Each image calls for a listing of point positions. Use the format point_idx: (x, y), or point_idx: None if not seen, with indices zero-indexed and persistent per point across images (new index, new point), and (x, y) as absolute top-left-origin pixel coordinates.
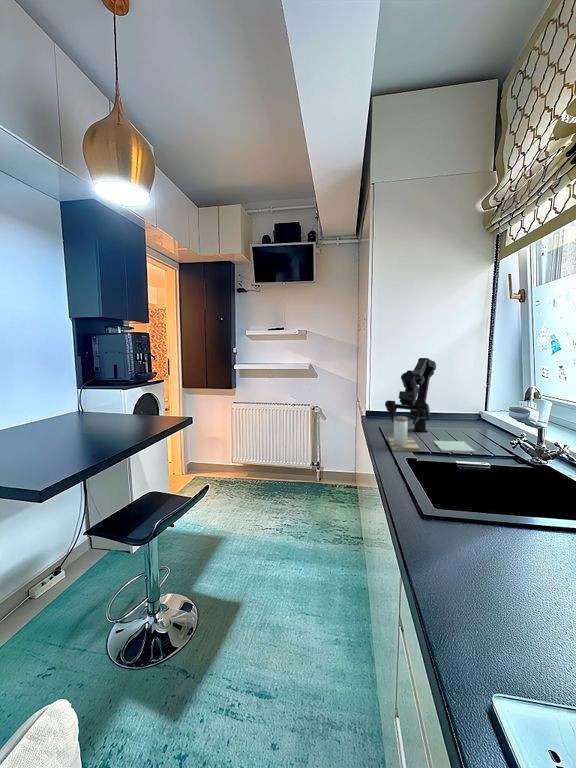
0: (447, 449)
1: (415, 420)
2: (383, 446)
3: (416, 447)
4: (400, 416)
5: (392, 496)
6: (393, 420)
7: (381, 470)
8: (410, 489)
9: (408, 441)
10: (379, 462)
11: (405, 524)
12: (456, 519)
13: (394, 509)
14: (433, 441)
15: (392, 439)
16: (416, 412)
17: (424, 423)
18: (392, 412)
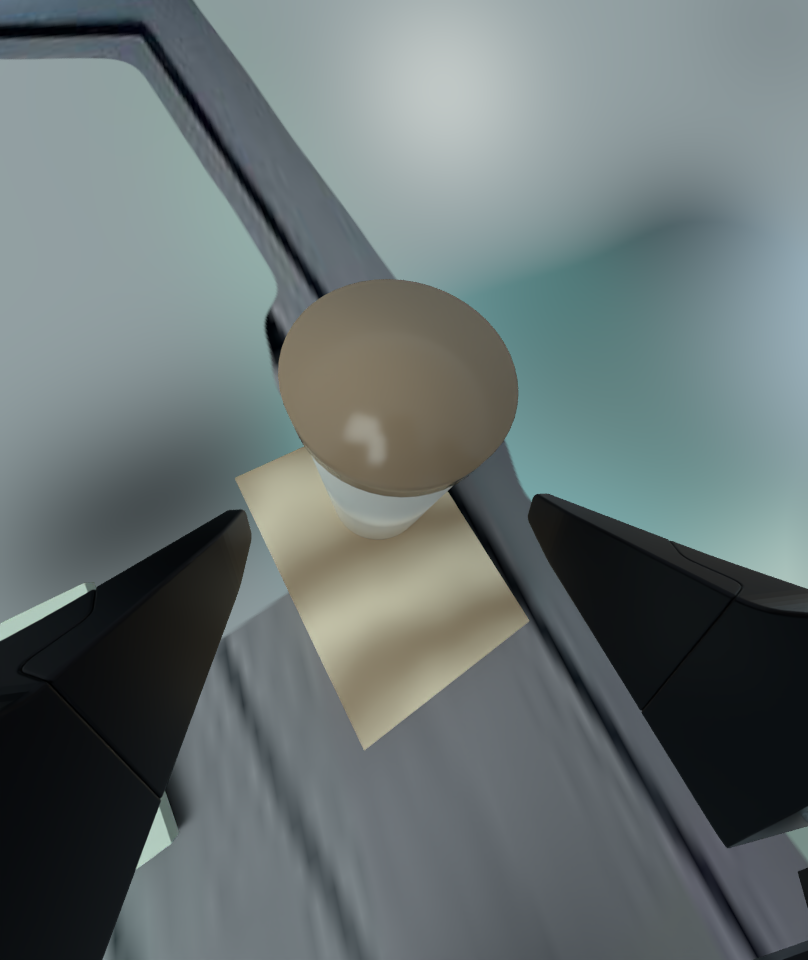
0: (32, 623)
1: (180, 541)
2: (471, 474)
3: (259, 482)
4: (441, 441)
5: (239, 81)
6: (543, 533)
7: (337, 205)
8: (199, 121)
9: (352, 596)
10: (379, 266)
11: (176, 5)
12: (52, 32)
13: (215, 40)
14: (174, 834)
15: (470, 573)
16: (3, 697)
17: None
18: (695, 566)
